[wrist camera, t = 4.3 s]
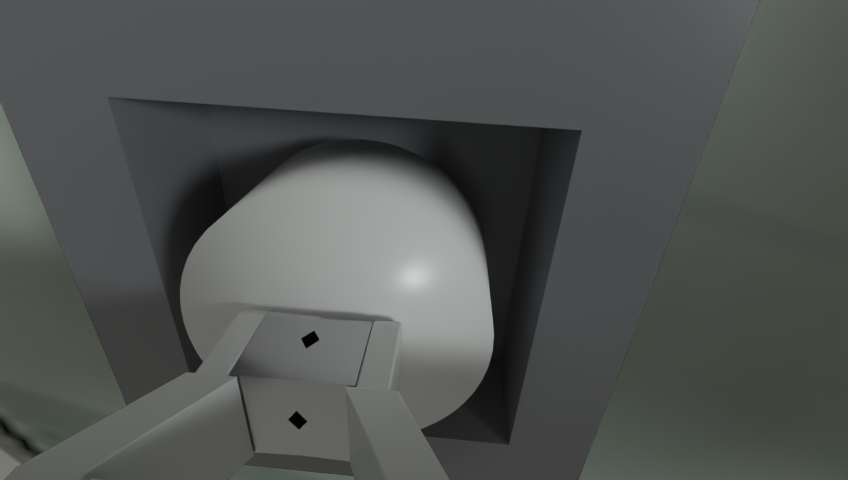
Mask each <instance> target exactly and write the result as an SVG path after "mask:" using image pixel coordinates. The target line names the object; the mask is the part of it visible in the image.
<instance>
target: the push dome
mask: <svg viewBox="0 0 848 480" xmlns="http://www.w3.org/2000/svg"><path fill="white" fill-rule="evenodd" d="M180 307H181V312H182V317H183V322H184V325H185V328H186V330H187V333H188V336H189V339H190V340H191V342H192V344H193V346H194V348H195V350H196V352H197V354H198V355H199V357H200V358H201V359H202V361H204V360H205V358H206V357H207V356H208V354H209V353H210V352H211V350H212V349H213V347H214V346H215V345H216V343H217V342H218V340H219V339H220V338H221V336H222V335H223V333H224V332H225V331H226V329H227V328H228V327H229V325H230V324H231V322H232V321H233V320H234V318H235V317H236V315H237V314H238V313H239V312H241V311H243V310H245V309H248V310H257V311H267V312H280V313H290V314H299V315H308V316H318V317H327V318H340V319H353V320H366V321H390V322H401V323H402V356H401V376H400V388H399V393H400V395H401V397H402V398H403V400H404V402H405V403H406V405H407V407H408V409H409V410H410V412H411V414H412V416H413V417H414V419H415V421H416V423H417V424H418V426H419V428H420V429H422V428H425V427H427V426H429V425H432V424H434V423H436V422H438V421H440V420H442V419H443V418H445V417H446V416H448V415H450V414H451V413H453V412H454V411H455V410H456V409H458V408H459V407H460V406H461V405H462V404H464V403H465V402H466V400H467V399H468V398H469V397H470V396H471V395H472V394H473V393H474V392H475V390H476V389H477V387H478V386H479V384H480V383H481V381H482V380H483V377H484V375H485V373H486V371H487V369H488V366H489V363H490V359H491V355H492V352H493V341H494V329H493V318H492V308H491V298H490V289H489V279H488V270H487V260H486V251H485V241H484V236H483V231H482V227H481V224H480V221H479V219H478V216H477V214H476V212H475V210H474V208H473V206H472V204H471V203H470V201H469V199H468V198H467V196H466V195H465V194H464V192H463V191H462V190H461V189H460V187H459V186H458V185H457V184H456V183H455V182H454V181H453V180H452V179H451V178H450V177H449V176H448V175H447V174H446V173H445V172H444V171H442V170H441V169H440V168H438V167H437V166H436V165H434V164H433V163H432V162H430V161H428V160H427V159H425V158H423V157H421V156H420V155H418V154H416V153H414V152H411V151H409V150H406V149H404V148H402V147H399V146H395V145H392V144H388V143H384V142H379V141H372V140H365V139H345V140H337V141H329V142H326V143H322V144H318V145H315V146H312V147H309V148H307V149H305V150H303V151H300V152H298V153H296V154H295V155H293V156H292V157H290V158H288V159H287V160H285V161H284V162H283V163H282V164H281V165H279V166H278V167H277V168H276V169H275V170H274V171H273V172H271V173H270V174H269V175H268V176H267V177H266V178H265V179H264V180H262V181H261V182H260V183H259V184H258V185H257V186H256V187H255V188H253V189H252V190H251V191H250V192H249V193H248V194H247V195H246V196H244V197H243V198H242V199H241V200H240V201H239V202H238V203H236V204H235V205H234V206H233V207H232V208H231V209H230V210H229V211H227V212H226V213H225V214H224V215H223V216H222V217H221V218H220V219H218V220H217V221H216V222H215V223H214V224H213V225H212V226H211V227H209V228H208V229H207V230H206V231H205V233H204V234H203V235H202V236H201V237H200V239H199V240H198V241H197V242H196V244H195V245H194V247H193V249H192V251H191V253H190V255H189V256H188V258H187V261H186V264H185V267H184V270H183V273H182V278H181V286H180Z"/></svg>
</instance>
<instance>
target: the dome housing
mask: <svg viewBox="0 0 848 480" xmlns="http://www.w3.org/2000/svg"><path fill="white" fill-rule="evenodd" d="M759 2H760V0H0V102H1V104H2V107H3V109H4V111H5V114H6V116H7V119H8V121H9V123H10V126H11V128H12V131H13V133H14V135H15V138H16V140H17V143H18V145H19V147H20V150H21V152H22V155H23V157H24V159H25V162H26V164H27V167H28V169H29V171H30V174H31V176H32V179H33V181H34V183H35V186H36V188H37V191H38V193H39V195H40V198H41V200H42V203H43V205H44V207H45V210H46V212H47V215H48V217H49V219H50V222H51V224H52V227H53V229H54V231H55V234H56V236H57V239H58V241H59V243H60V246H61V248H62V251H63V253H64V255H65V258H66V260H67V263H68V265H69V267H70V270H71V272H72V275H73V277H74V279H75V282H76V284H77V287H78V289H79V291H80V294H81V296H82V299H83V301H84V303H85V306H86V308H87V311H88V313H89V315H90V318H91V320H92V323H93V325H94V327H95V330H96V332H97V335H98V337H99V339H100V342H101V344H102V347H103V349H104V351H105V354H106V356H107V359H108V361H109V363H110V366H111V368H112V371H113V373H114V375H115V378H116V380H117V383H118V385H119V387H120V390H121V392H122V395H123V397H124V399H125V402H126V404H127V405H129V404H130V403H132V402H134V401H136V400H138V399H139V398H141V397H143V396H145V395H147V394H148V393H150V392H152V391H154V390H156V389H157V388H159V387H161V386H163V385H165V384H166V383H168V382H170V381H172V380H174V379H175V378H177V377H179V376H181V375H182V374H184V373H186V372H190V373H195V372H196V371H197V370H198V368H199V367H200V365H201V364H202V363H203V361H202V359H201V358H200V357H199V355H198V354H197V352H196V350H195V348H194V346H193V344H192V342H191V340H190V339H189V336H188V333H187V330H186V328H185V325H184V322H183V317H182V312H181V307H180V286H181V278H182V273H183V270H184V267H185V264H186V261H187V258H188V256H189V255H190V253H191V251H192V249H193V247H194V245H195V244H196V242H197V241H198V240H199V239H200V237H201V236H202V235H203V234H204V233H205V231H206V230H207V229H208V228H209V227H211V226H212V225H213V224H214V223H215V222H216V221H217V220H218V219H220V218H221V217H222V216H223V215H224V214H225V213H226V212H227V211H229V210H230V209H231V208H232V207H233V206H234V205H235V204H236V203H238V202H239V201H240V200H241V199H242V198H243V197H244V196H246V195H247V194H248V193H249V192H250V191H251V190H252V189H253V188H255V187H256V186H257V185H258V184H259V183H260V182H261V181H262V180H264V179H265V178H266V177H267V176H268V175H269V174H270V173H271V172H273V171H274V170H275V169H276V168H277V167H278V166H279V165H281V164H282V163H283V162H284V161H285V160H287V159H288V158H290V157H292V156H293V155H295V154H296V153H298V152H300V151H303V150H305V149H307V148H309V147H312V146H315V145H318V144H322V143H326V142H329V141H337V140H345V139H365V140H372V141H379V142H384V143H388V144H392V145H395V146H399V147H402V148H404V149H406V150H409V151H411V152H414V153H416V154H418V155H420V156H421V157H423V158H425V159H427V160H428V161H430V162H432V163H433V164H434V165H436V166H437V167H438V168H440V169H441V170H442V171H444V172H445V173H446V174H447V175H448V176H449V177H450V178H451V179H452V180H453V181H454V182H455V183H456V184H457V185H458V186H459V187H460V189H461V190H462V191H463V192H464V194H465V195H466V196H467V198H468V199H469V201H470V203H471V204H472V206H473V208H474V210H475V212H476V214H477V216H478V219H479V221H480V224H481V227H482V231H483V236H484V241H485V251H486V260H487V270H488V279H489V289H490V298H491V308H492V318H493V329H494V341H493V352H492V355H491V359H490V363H489V366H488V369H487V371H486V373H485V375H484V377H483V380H482V381H481V383H480V384H479V386H478V387H477V389H476V390H475V392H474V393H473V394H472V395H471V396H470V397H469V398H468V399H467V400H466V402H465V403H464V404H462V405H461V406H460V407H459V408H458V409H456V410H455V411H454V412H453V413H451V414H450V415H448V416H446V417H445V418H443V419H442V420H440V421H438V422H436V423H434V424H432V425H429V426H427V427H425V428H422V429H421V431H422V433H423V435H424V436H425V438H426V440H427V442H428V443H429V445H430V447H431V449H432V450H433V452H434V454H435V455H436V457H437V459H438V461H439V462H440V464H441V466H442V468H443V469H444V471H445V473H446V475H447V476H448V478H449V480H579V477H580V474H581V472H582V469H583V466H584V464H585V461H586V459H587V456H588V453H589V451H590V448H591V445H592V443H593V440H594V437H595V435H596V432H597V429H598V427H599V424H600V422H601V419H602V416H603V414H604V411H605V408H606V406H607V403H608V400H609V398H610V395H611V393H612V390H613V387H614V385H615V382H616V379H617V377H618V374H619V371H620V369H621V366H622V363H623V361H624V358H625V356H626V353H627V350H628V348H629V345H630V342H631V340H632V337H633V334H634V332H635V329H636V326H637V324H638V321H639V319H640V316H641V313H642V311H643V308H644V305H645V303H646V300H647V297H648V295H649V292H650V289H651V287H652V284H653V282H654V279H655V276H656V274H657V271H658V268H659V266H660V263H661V260H662V258H663V255H664V252H665V250H666V247H667V245H668V242H669V239H670V237H671V234H672V231H673V229H674V226H675V223H676V221H677V218H678V216H679V213H680V210H681V208H682V205H683V202H684V200H685V197H686V194H687V192H688V189H689V186H690V184H691V181H692V179H693V176H694V173H695V171H696V168H697V165H698V163H699V160H700V157H701V155H702V152H703V149H704V147H705V144H706V142H707V139H708V136H709V134H710V131H711V128H712V126H713V123H714V120H715V118H716V115H717V112H718V110H719V107H720V105H721V102H722V99H723V97H724V94H725V91H726V89H727V86H728V83H729V81H730V78H731V75H732V73H733V70H734V68H735V65H736V62H737V60H738V57H739V54H740V52H741V49H742V46H743V44H744V41H745V39H746V36H747V33H748V31H749V28H750V25H751V23H752V20H753V17H754V15H755V12H756V9H757V7H758V4H759ZM253 453H254V456H253V457H252V458H251V459H250V460H249V461H247V462H246V463H245V464H244V465H252V466H262V467H271V468H281V469H291V470H300V471H310V472H319V473H329V474H339V475H348V476H354V474H353V471H352V468H351V465H350V461H342V460H334V459H326V458H318V457H310V456H302V455H286V454H271V453H256V452H253Z"/></svg>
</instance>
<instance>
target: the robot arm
mask: <svg viewBox="0 0 848 480" xmlns="http://www.w3.org/2000/svg"><path fill="white" fill-rule="evenodd" d="M401 356H402V323H401V322H390V321H366V320H353V319H340V318H327V317H318V316H308V315H299V314H290V313H280V312H267V311H257V310H248V309H245V310H243V311H241V312H239V313H238V314H237V315H236V317H235V318H234V320H233V321H232V322H231V324H230V325H229V327H228V328H227V329H226V331H225V332H224V333H223V335H222V336H221V338H220V339H219V340H218V342H217V343H216V345H215V346H214V347H213V349H212V350H211V352H210V353H209V354H208V356H207V357H206V358H205V360H204V361H203V363H202V364H201V365H200V367H199V368H198V370H197V371H196V372H195V373H190V372H186V373H184V374H182V375H181V376H179V377H177V378H175V379H174V380H172V381H170V382H168V383H166V384H165V385H163V386H161V387H159V388H157V389H156V390H154V391H152V392H150V393H148V394H147V395H145V396H143V397H141V398H139V399H138V400H136V401H134V402H132V403H130V404H129V405H127V406H125V407H123V408H121V409H120V410H118V411H116V412H114V413H113V414H111V415H109V416H107V417H105V418H104V419H102V420H100V421H98V422H96V423H95V424H93V425H91V426H89V427H87V428H86V429H84V430H82V431H80V432H78V433H77V434H75V435H73V436H71V437H69V438H68V439H66V440H64V441H62V442H60V443H59V444H57V445H55V446H53V447H52V448H50V449H48V450H46V451H44V452H43V453H41V454H39V455H37V456H35V457H34V458H32V459H30V460H28V461H26V462H25V463H23V464H21V465H19V466H17V467H16V468H15V469H14V470H13V471H12V472H11V473H10V474H9V475H8V476H7V477H6V478H5V479H4V480H228V479H229V478H231V477H232V476H233V475H234V474H235V473H236V472H237V471H238V470H239V469H240V468H241V467H242V466H243V465H244V464H245V463H246V462H247V461H249V460H250V459H251V458H252V457H253V456H254V453H253V452H256V453H271V454H286V455H302V456H310V457H318V458H326V459H334V460H342V461H350V465H351V468H352V471H353V474H354V477H355V480H449V478H448V476H447V475H446V473H445V471H444V469H443V468H442V466H441V464H440V462H439V461H438V459H437V457H436V455H435V454H434V452H433V450H432V449H431V447H430V445H429V443H428V442H427V440H426V438H425V436H424V435H423V433H422V431H421V429H420V428H419V426H418V424H417V423H416V421H415V419H414V417H413V416H412V414H411V412H410V410H409V409H408V407H407V405H406V403H405V402H404V400H403V398H402V397H401V395H400V393H399V388H400V376H401Z"/></svg>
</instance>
